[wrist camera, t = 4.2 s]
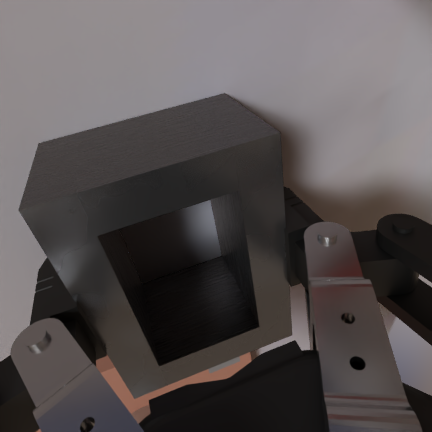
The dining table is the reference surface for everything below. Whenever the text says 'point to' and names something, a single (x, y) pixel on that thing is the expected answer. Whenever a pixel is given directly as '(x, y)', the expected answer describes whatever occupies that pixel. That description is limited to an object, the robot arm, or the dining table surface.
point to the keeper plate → (141, 404)
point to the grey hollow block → (156, 206)
